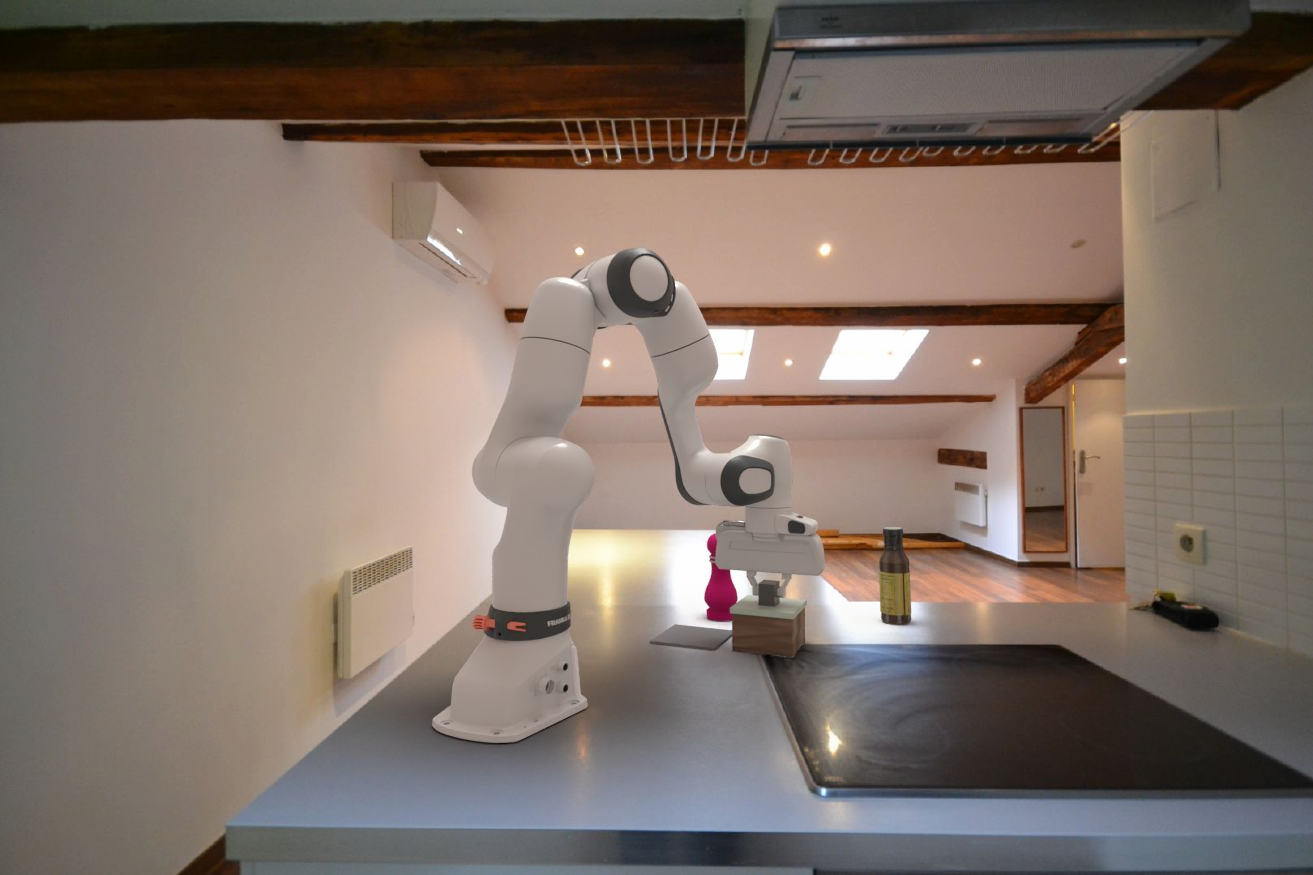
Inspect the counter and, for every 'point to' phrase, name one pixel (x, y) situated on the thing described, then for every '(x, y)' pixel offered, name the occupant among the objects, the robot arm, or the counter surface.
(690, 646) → the mat
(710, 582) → the pepper mill
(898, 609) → the sauce bottle
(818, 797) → the counter surface
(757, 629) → the box
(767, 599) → the lid
